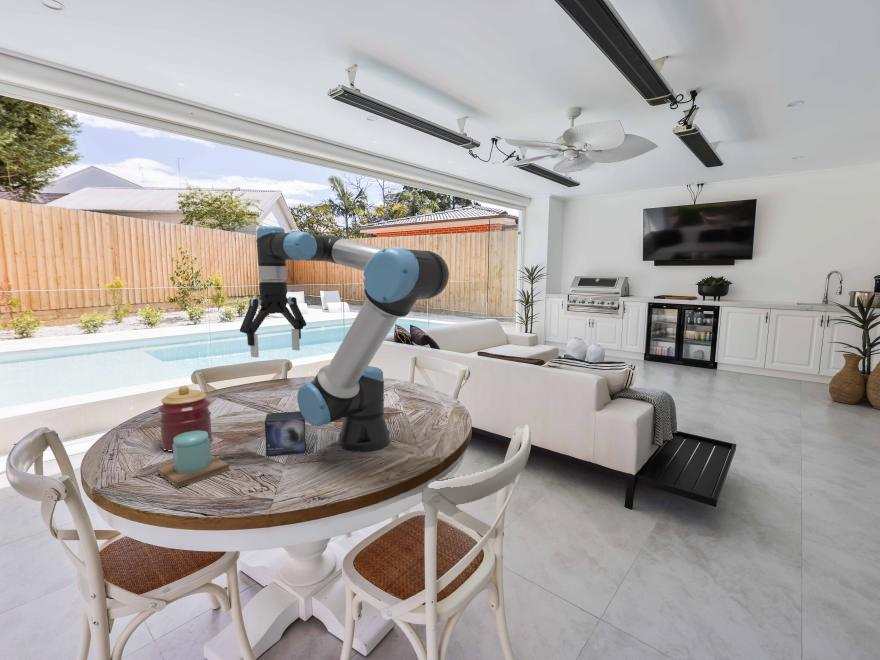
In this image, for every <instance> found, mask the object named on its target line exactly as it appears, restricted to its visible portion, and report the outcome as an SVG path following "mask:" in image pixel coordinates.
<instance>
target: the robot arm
mask: <svg viewBox="0 0 880 660" xmlns="http://www.w3.org/2000/svg"><path fill="white" fill-rule="evenodd" d="M255 241H256V252H257V264H258V266H257V267H258V280H259V281H260V282H259V283H258V289H259V291H258V292H259V295H260V298H259V299H257V298H250V299H249V303H248V309H247V311H246V313H245V315H244V318H243V322H242V323H241V326H240V328H239V332H240V333H243V334H246V338H247V345H248V346H249V347H250V357H251V358H259V356H260V355H259V337H258V334H257V333H256V332H257V331H258V329H259V328H260V326H261V325H262V323H263V322H264V321H265V319H266V317H267V316H269V315H273V314H282V316H283V317H284V319H286V320H287V321H288V323H289V324H290V326H292V327H293V328H291V349H292V351H297V352H298V351H300V349H301V348H300V340H301V339H302V330H303V329H304V327H306V326H307V322H306V320H305V318H304V316H303V313H302V312H301V310H300V307H299V306H298V300H297V297H295V296H294V297H293V296H289V297H287V294H288V283H287V282H286V280H288V279H287V278H288V277H287V262H286V261H305V262H306V261H309V262H310V261H311V262H329V263H332V264H337V265H341V266H345V267H348V268H352V269H355V270H359V271H363V277H364V279H363V286H364V289H363V294H364V297H365V299H366V300H365V301H364V303H363V305H362V307H360V309H359V311H358V313H357V315H356V317H355V318H354V320H353V322H352V324H351V326H350V328H349V329H348V331H347V333H346V334H345V335H344V338H343V340H342V342H341V344H340V345H339V347H338V349H337V351H335V354H334V356H333V358H332V359H331V361H330V363H329V364H327V365H324V366H322V367H321V368H320V369H319V371H318V372H317V374H316V375H315V378H314V379H313V380H312V381H310V382H308V381H307V382H305V383H304V384H302V385H300V386H299V388H298V390H297V398H296V400H297V401H296V402H297V404H298V409H299V411H300V412H301V414H302V415H303V417H304V418H305V422H307V423H308V424H309V425H312V426H315V427H320V426H321V427H322V426H323V425H324V426H325V425H328V424H330V423H333V422H335V421H338V420H341V419H343V421H342V425H341V426H342V427H341V429H340V433H339V434H338V445H339V446H340V447H341V448H342V449H344V450H347V451H351V452H358V453H359V452H372V451H376V450H380V449H383V448H384V447H386V446H387V445H389V443H390V441H391V435H390V434H391V433H390V431H389V428H388V425H387V422H386V418H385V415H384V414H385V412H384V411H385V409H384V408H385V399H384V398H385V394H384V393H385V389H384V388H385V380H384V372H383V370H382V369H381V368H380V367H376V366H371V365H370V363H371V361H372V360H373V359H374V357H375V356H376V353H377V352H378V351H379V349H380V347H381V346H382V345H383V343H384V341H385V339H387V338H386V337H387V336H388V334H389V333H390V331H391V330H392V328H393V326H394V325H395V324H396V321H397V320H398V319H399V318H405V317H407V316H408V314H409V313H410V312H411V310H412V308H414V305H415V304H416V303H417V301H418V300H426V299H428V300H429V299H432V298H435V297H438V296H439V295H440V294H441V293H442V292H443V291H444V290H445V289H446V287H447V285H448V282H449V278H450V272H449V271H450V270H449V266H448V264H447V263H446V261H445V259H444V258H443V257H442V256H441V255H440V254H438V253H437V252H433V251H430V250H422V249H407V248H405V247H404V248H403V247H390V248H389V247H388V248H386V247H383V246H382V247H381V246H377V245H373V244H367V243H363V242H358V241H354V240H350V239H346V238H345V237H341V236H336V235H324V234H323V235H322V234H312V233H309V232H307V231H297V230H296V231H293V232H290V231H289V232H285V228H283V227H281V226H274V225H273V226H272V225H270V226H269V225H266V226H265V225H264V226H263V225H262V226H259V227H257V229H256V240H255ZM287 305H289V308H288V307H287ZM260 306H261V307H260ZM259 307H260V309H259ZM258 309H259V311H258ZM290 310H291V312H292V313H291V312H290ZM257 311H258V314H257V315H256V313H257Z"/></svg>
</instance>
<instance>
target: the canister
mask: <svg viewBox="0 0 880 660" xmlns="http://www.w3.org/2000/svg"><path fill="white" fill-rule="evenodd" d="M206 398H207V393H205V392H202V391H201V390H198V389H190V388H189V387H188V386H187V385H180V387H179V388H178V390H177V391H173V392H170V393H168V394H167V395H166V396H165V397H162V399H161V400H160V402H161V403H162V404H161V405H160V406H159V407H158V408H157V410H158V412H159V413H160V418H159V424H160V425H159V427H160V437H161V439H160V444H161V448H162V449H163V448H164V449H166V450H172V451H173V444H174V440H173V439H174V437H175V436H177V435H179V434H182V433H185V432H190V431H206V432H208V438H209V439H210V443H211V442H212V438H213V431H212V423H211V422H212V419H211V418H212V417H211V414H212V413H211V412H212V411H210V410H209V409H210V408H209V406H210V405H211V401H210V400H208V399H206Z"/></svg>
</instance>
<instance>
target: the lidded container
mask: <svg viewBox="0 0 880 660" xmlns="http://www.w3.org/2000/svg"><path fill="white" fill-rule="evenodd" d="M173 440H174V444H173V452H172V455H173V456H172V457H173V463H174V470H175V471H177V472H178V473H194V472H197V471H200V470H204V469H206V468H207V467H208V466H209V465H210V464H211V455H212V451H211V442H210V439H209V438H208V432H206V431H190V432H185V433H182V434H179V435H177V436H175V437H174V439H173Z"/></svg>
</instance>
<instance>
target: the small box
mask: <svg viewBox="0 0 880 660" xmlns="http://www.w3.org/2000/svg"><path fill="white" fill-rule="evenodd" d="M264 431H265V436H264V437H265V438H264V439H265V455H266V457H272V456H282V455H292V454H293V455H294V454H302V453H306V450H307V449H306V447H307V441H306V419H305V418H304V417H303V415H302V414H301V412H300V410H299V411H286V412H271V413H266V416H265V419H264Z"/></svg>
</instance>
